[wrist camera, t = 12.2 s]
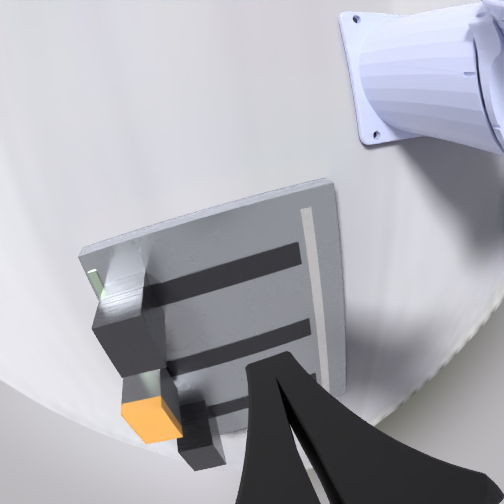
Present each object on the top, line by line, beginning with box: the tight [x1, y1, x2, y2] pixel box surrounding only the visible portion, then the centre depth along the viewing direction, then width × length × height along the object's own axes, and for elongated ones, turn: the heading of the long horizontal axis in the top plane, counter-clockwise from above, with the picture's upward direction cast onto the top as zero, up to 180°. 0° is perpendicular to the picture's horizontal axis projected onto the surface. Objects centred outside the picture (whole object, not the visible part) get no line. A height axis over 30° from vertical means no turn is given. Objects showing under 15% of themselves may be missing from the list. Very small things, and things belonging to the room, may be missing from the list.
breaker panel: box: [78, 178, 346, 471], centre depth 19 cm, size 14×18×5 cm
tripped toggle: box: [121, 368, 183, 444], centre depth 17 cm, size 2×3×4 cm
